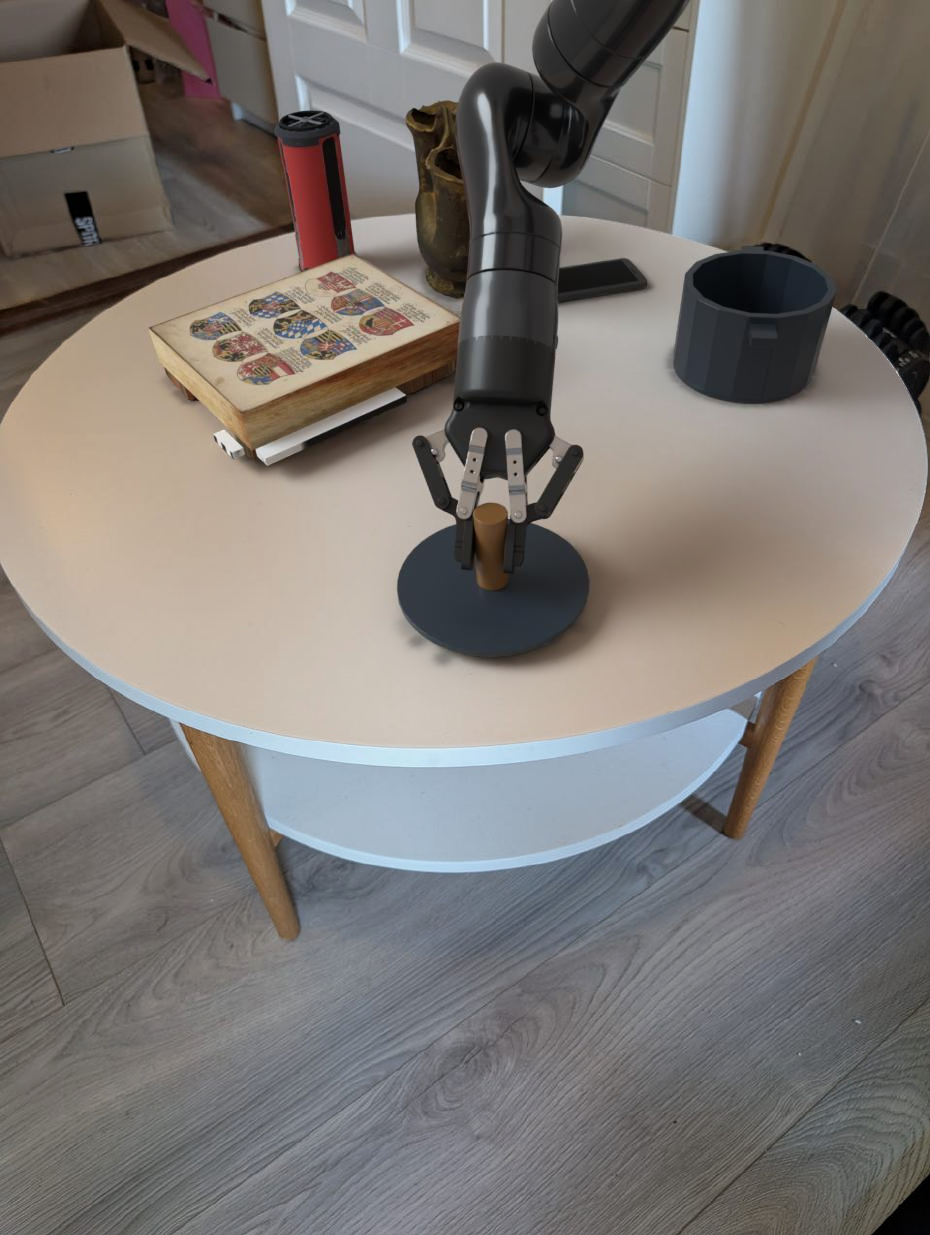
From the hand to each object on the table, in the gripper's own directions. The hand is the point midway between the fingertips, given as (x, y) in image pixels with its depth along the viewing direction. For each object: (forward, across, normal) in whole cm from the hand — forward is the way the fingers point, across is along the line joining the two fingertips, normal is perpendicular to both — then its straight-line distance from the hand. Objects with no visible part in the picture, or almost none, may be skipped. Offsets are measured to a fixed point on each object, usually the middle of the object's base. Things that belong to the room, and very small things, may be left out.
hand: (488, 570), depth 67 cm
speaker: (-39, -30, +46) cm, 67 cm away
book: (-19, -24, +26) cm, 40 cm away
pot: (-25, +22, +32) cm, 46 cm away
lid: (+1, 0, +4) cm, 4 cm away
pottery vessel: (-38, -12, +45) cm, 60 cm away
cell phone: (-38, +4, +44) cm, 58 cm away
